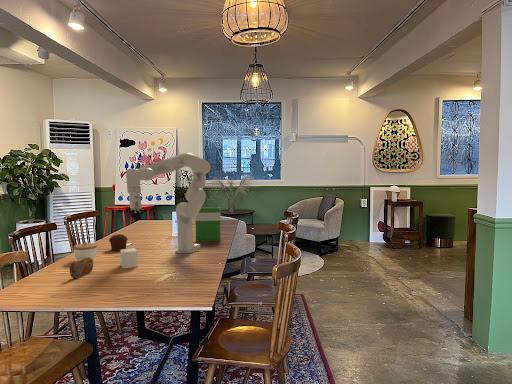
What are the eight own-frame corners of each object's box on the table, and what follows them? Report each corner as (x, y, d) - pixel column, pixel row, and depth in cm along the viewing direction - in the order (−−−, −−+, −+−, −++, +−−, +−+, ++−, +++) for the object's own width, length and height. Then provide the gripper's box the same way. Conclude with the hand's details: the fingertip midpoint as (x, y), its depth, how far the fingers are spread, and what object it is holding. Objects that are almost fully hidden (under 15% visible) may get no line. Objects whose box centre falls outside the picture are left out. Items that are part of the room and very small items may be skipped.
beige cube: (135, 263, 210) (134, 248, 210) (137, 266, 204) (137, 250, 203) (120, 265, 207) (120, 249, 206) (122, 268, 200) (122, 252, 199)
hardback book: (195, 241, 271) (195, 208, 270) (197, 239, 279) (196, 207, 277) (220, 240, 272) (219, 208, 271) (220, 238, 280) (220, 207, 278)
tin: (74, 280, 180) (73, 263, 179) (68, 280, 181) (67, 263, 180) (93, 271, 195) (93, 255, 194) (88, 271, 195) (87, 255, 195)
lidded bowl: (85, 257, 226) (85, 239, 225) (102, 258, 222) (101, 240, 221) (69, 262, 214) (68, 243, 213) (86, 264, 210) (85, 244, 209)
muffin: (127, 247, 254) (126, 232, 253) (129, 250, 244) (128, 235, 243) (108, 248, 248) (107, 234, 248) (109, 252, 239) (109, 236, 238)
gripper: (144, 190, 213) (146, 219, 214) (137, 188, 228) (138, 216, 229) (130, 191, 209) (132, 221, 211) (124, 189, 224) (126, 217, 225)
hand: (135, 218), depth 220 cm, fingers open, 9 cm apart
